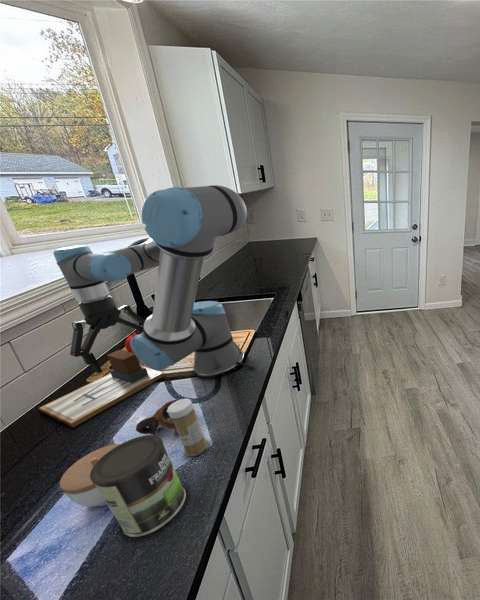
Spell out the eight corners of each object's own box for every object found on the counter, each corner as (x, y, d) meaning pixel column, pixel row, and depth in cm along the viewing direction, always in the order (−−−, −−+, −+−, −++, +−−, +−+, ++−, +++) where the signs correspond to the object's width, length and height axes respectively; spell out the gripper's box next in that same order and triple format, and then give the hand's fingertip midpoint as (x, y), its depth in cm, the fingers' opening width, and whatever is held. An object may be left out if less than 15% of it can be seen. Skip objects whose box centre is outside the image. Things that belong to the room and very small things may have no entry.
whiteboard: (164, 376, 104) (163, 372, 104) (73, 427, 84) (70, 423, 83) (132, 366, 111) (131, 362, 110) (41, 411, 91) (38, 407, 90)
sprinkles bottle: (181, 454, 73) (161, 409, 68) (199, 439, 77) (182, 395, 72) (195, 459, 72) (175, 413, 67) (212, 444, 76) (195, 400, 71)
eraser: (148, 374, 103) (139, 353, 100) (131, 383, 99) (121, 361, 96) (129, 368, 107) (120, 348, 104) (111, 376, 103) (102, 355, 100)
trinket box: (105, 522, 60) (83, 488, 56) (63, 512, 62) (39, 479, 58) (156, 472, 69) (140, 440, 66) (118, 466, 71) (100, 435, 68)
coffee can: (194, 480, 67) (172, 429, 62) (172, 529, 58) (144, 475, 52) (140, 491, 65) (113, 440, 60) (109, 544, 56) (73, 489, 50)
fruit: (128, 355, 119) (117, 331, 115) (156, 345, 125) (147, 322, 121) (133, 363, 113) (122, 339, 109) (163, 352, 119) (153, 329, 115)
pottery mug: (185, 410, 88) (189, 391, 85) (197, 437, 84) (202, 418, 81) (130, 427, 79) (133, 407, 75) (141, 459, 75) (144, 438, 71)
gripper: (133, 283, 104) (157, 339, 112) (30, 314, 83) (68, 380, 91) (147, 285, 101) (170, 342, 109) (43, 317, 80) (81, 385, 88)
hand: (124, 359), depth 100 cm, fingers open, 13 cm apart
